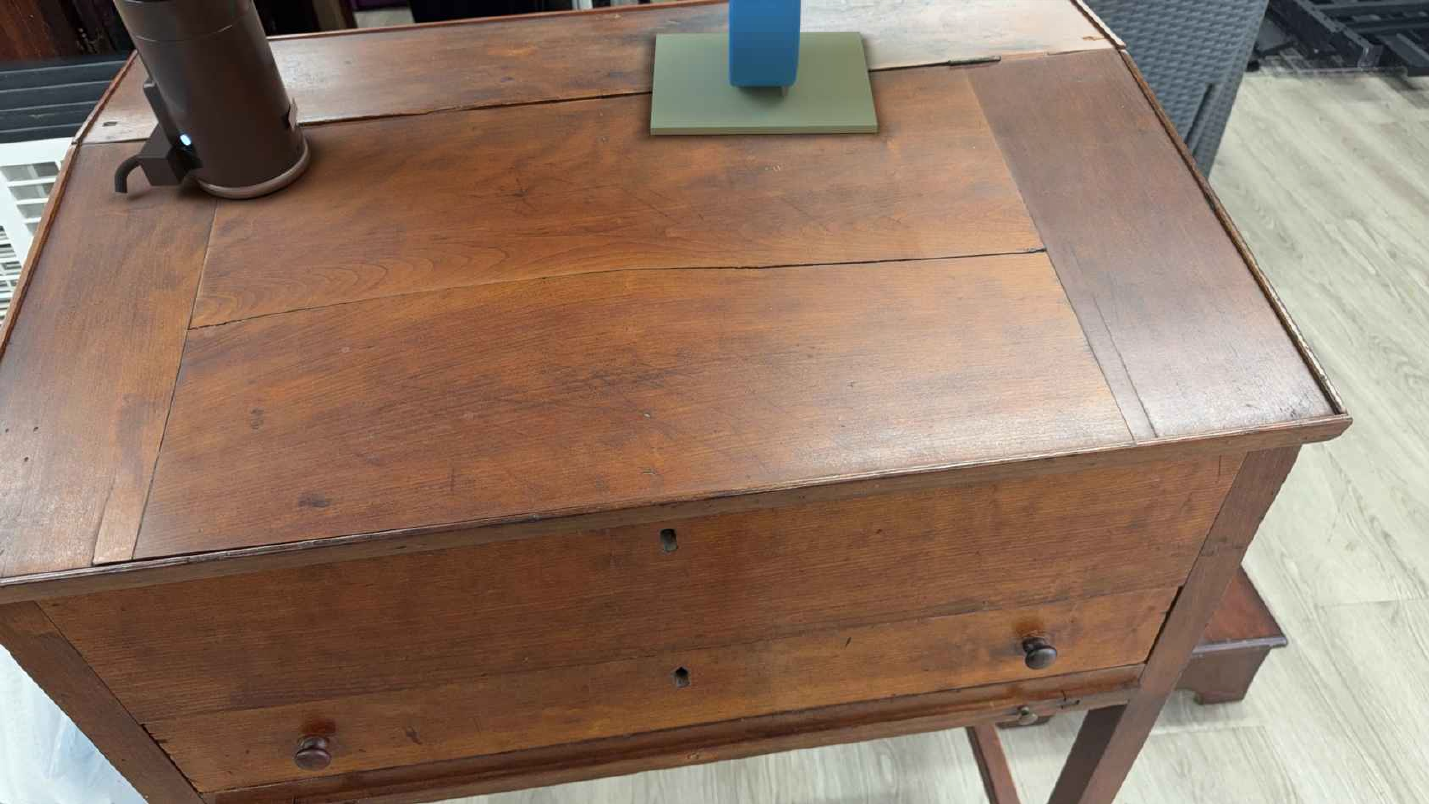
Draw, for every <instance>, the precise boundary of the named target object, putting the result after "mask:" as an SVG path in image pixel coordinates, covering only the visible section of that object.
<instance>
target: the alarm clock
mask: <svg viewBox="0 0 1429 804" xmlns="http://www.w3.org/2000/svg"><path fill="white" fill-rule="evenodd" d="M801 18H802V0H728V33H729V83H730V85H732V86H734V87H736V86H782V95H783V97H785V96H786V89H787V86H792V85H793V84H794V83H795V81H796V76H797V70H798V59H799V44H800V32H801V20H802V19H801Z"/></svg>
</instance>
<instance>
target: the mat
mask: <svg viewBox="0 0 1429 804" xmlns="http://www.w3.org/2000/svg"><path fill="white" fill-rule="evenodd" d="M655 37H656V38H655V49H654V50H655V51H654V52H655V53H654V66H653V67H654V68H653V69H654V70H653V81H652V83H653V84H652V96H651V111H650V113H651V115H650V135H651V136H690V135H696V136H698V135H783V134H784V135H785V134H787V135H789V134H795V135H796V134H868V133H869V134H872V133H875V134H877V133H878V126H879V125H878V118H877V114H876V109H875V103H874V98H873V93H872V89H871V88H872V87H871V83H870V77H869V71H868V67H867V61H866V57H865V56H866V55H865V50H864V45H863V39H862V33H861V31H803V32H802V31H800V44H799V59H798V70H797V76H796V81H795V83H794V84H793V85H792V86H787V89H786V96H785V97H783V95H782V86H736V87H734V86H732V85H730V83H729V32H715V33H714V32H712V33H711V32H709V33H707V32H705V33H656V35H655Z"/></svg>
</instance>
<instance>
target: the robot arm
mask: <svg viewBox="0 0 1429 804" xmlns="http://www.w3.org/2000/svg"><path fill="white" fill-rule="evenodd" d="M112 1H113V4H114V6H115V9H116V10H117V12H118V15H119V17H120V19H121V21H122V23H123V25H124V27H125V28H126V31H127V33H128V35H129V38H130V40H131V41H132V43H133V45H134V47H135V50H136V53H137V54H138V56H139V59H140V60H141V62H142V65H143V66H144V68H145V71H146V74H147V75H148V76H147V78H146V80H145V81H144V83H143V84H142V91H143V93H144V96H145V98H146V100H147V101H148V104H149V106H150V108H151V110H152V112H153V114H154V116H155V118H156V120H157V123H156V125H155V127H154V129H153V130H152V131H151V133H150V135H149V136H148V138H147V139H146V141H145V143H144V144H143V146H142V148H141V149H140V151H139V152H138V153H137V154H135V155H132V156H130V157H128V158H126V159H125V160H124V161H122V162H121V164H119V166H118V167H117V169H116V170H115V172H114V179H113V181H114V192H116V193H120V194H128V177H129V175H130V174H131V172H132V171H133V170H134V169H136V168H138V167H140V168H141V170H142V172H143V174H144V175H145V177H146V179H147V182H148V183H149V185H150V186H151V187H180V186H181V185H182V183H183V181H184V179H185V180H186V182H187V184H188V186H189V188H192V189H194V188H195V189H196V188H200V189H202V190H204V191H205V192H207V193H208V194H211V195H214V196H216V197H218V198H219V197H220V198H225V199H248V198H255V197H260V196H263V195H266V194H270V193H273V192H276V191H278V190H280V189H282V188H284V187H287V185H289V184H291V183H292V182H294V181H295V180H296V179H298V178H299V177H300V176H301V175H302V174H303V173H304V172H305V170H306V168H307V167H308V165H309V162H310V160H311V152H310V149H309V146H308V143H307V141H306V138H305V137H304V134H303V131H302V129H301V128H300V125H299V122H298V119H297V115H298V109H299V108H298V106H297V103H296V100H295V97H294V96H292V99H291V100H290V97H289V94H288V92H287V89H286V87H285V84H284V82H283V79H282V75H281V73H280V71H279V67H278V65H277V63H276V60H275V57H274V54H273V51H272V48H271V46H270V44H269V41H268V38H267V35H266V33H265V30H264V27H263V24H262V22H261V18H260V16H259V12H258V10H257V9H256V5H255V2H254V0H112Z"/></svg>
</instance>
